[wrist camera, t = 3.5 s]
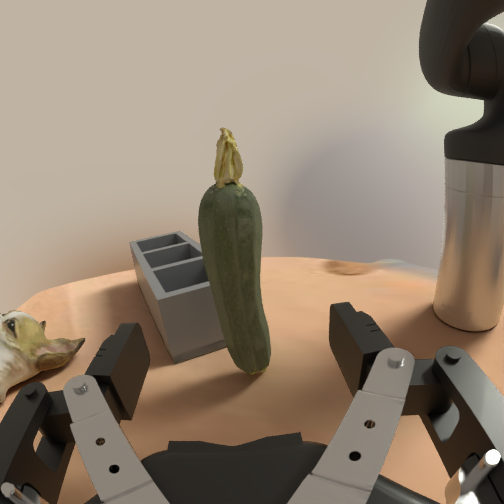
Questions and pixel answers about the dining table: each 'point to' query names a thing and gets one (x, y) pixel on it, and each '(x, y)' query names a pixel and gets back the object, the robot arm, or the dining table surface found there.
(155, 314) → the compartment organizer
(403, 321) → the dining table surface
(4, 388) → the ceramic sculpture
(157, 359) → the dining table surface
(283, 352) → the dining table surface
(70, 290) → the dining table surface
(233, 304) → the vegetable
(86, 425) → the robot arm
